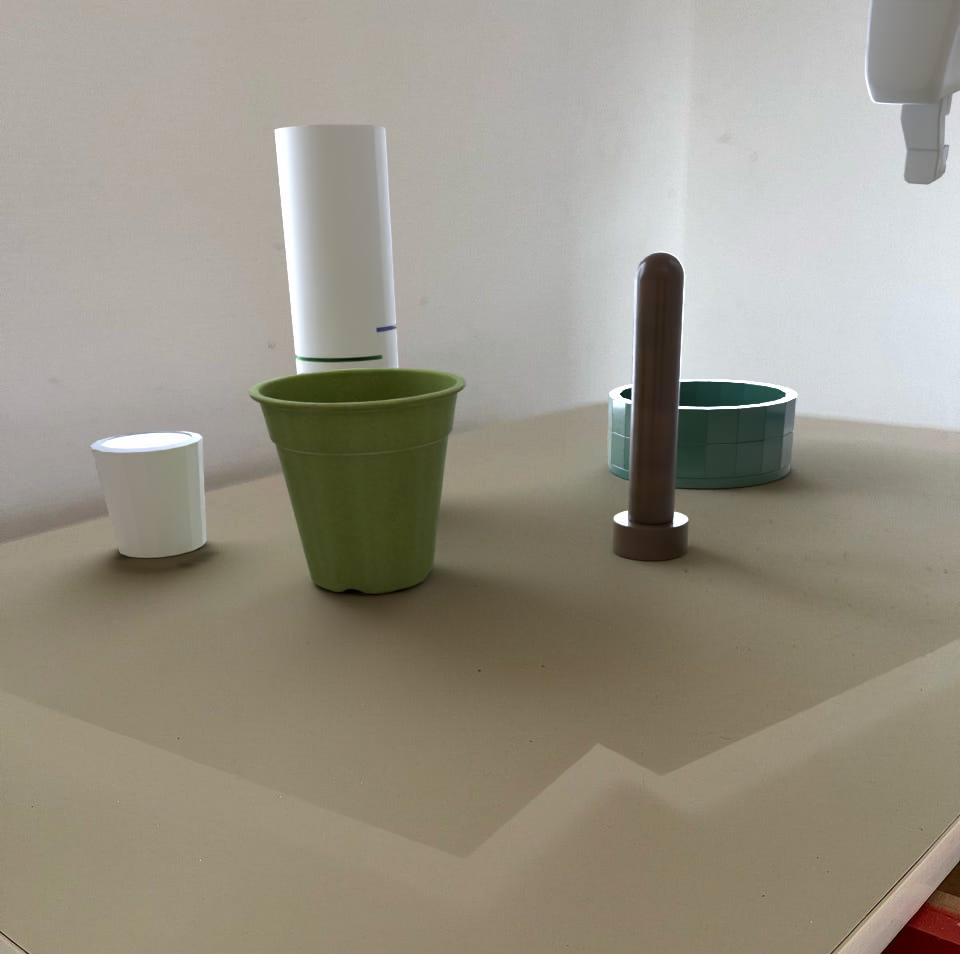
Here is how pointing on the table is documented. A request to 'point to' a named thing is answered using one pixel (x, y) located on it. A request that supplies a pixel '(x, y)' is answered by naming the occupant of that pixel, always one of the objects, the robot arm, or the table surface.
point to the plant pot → (363, 469)
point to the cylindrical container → (338, 245)
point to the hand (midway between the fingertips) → (955, 162)
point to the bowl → (717, 433)
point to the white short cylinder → (153, 491)
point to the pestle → (654, 415)
